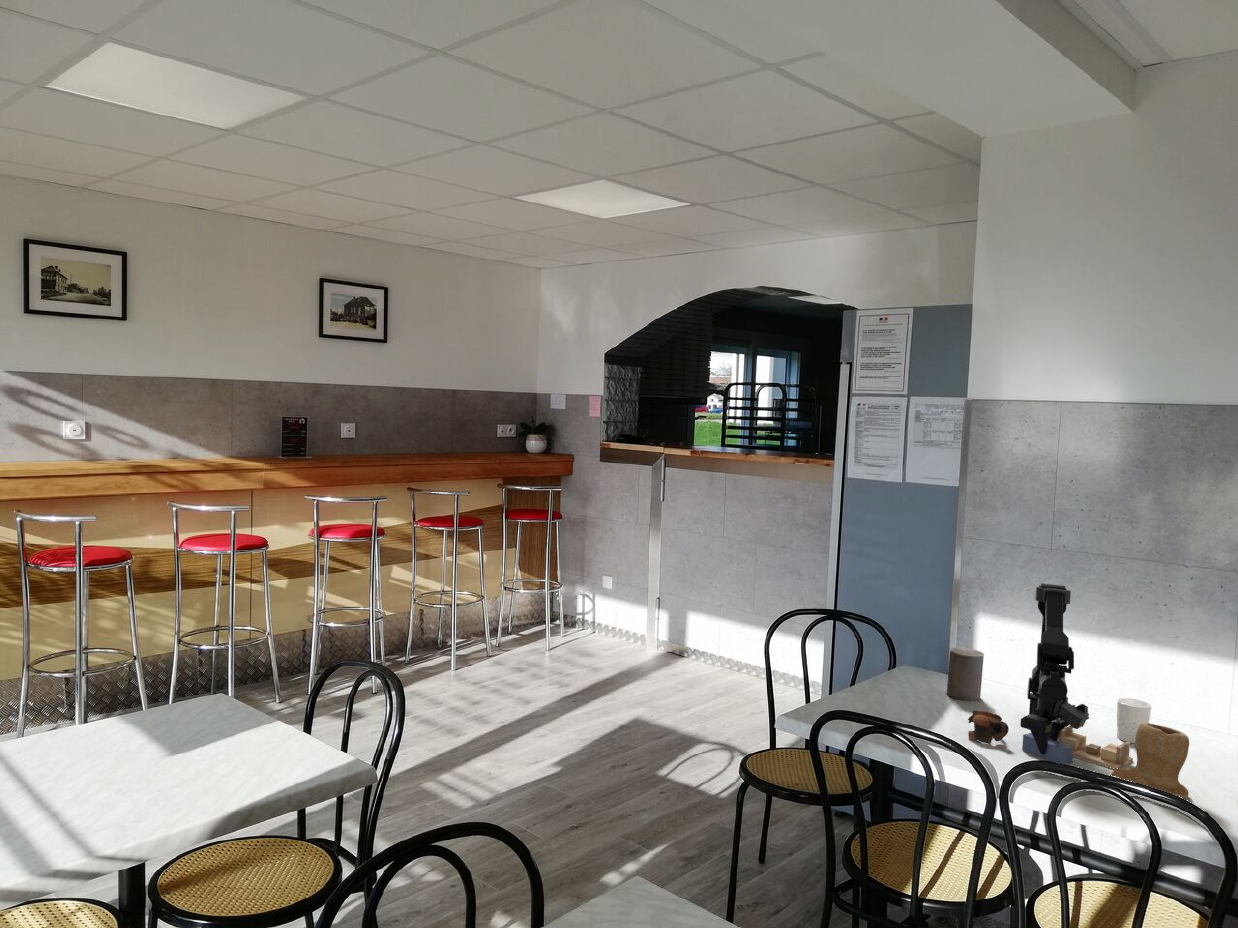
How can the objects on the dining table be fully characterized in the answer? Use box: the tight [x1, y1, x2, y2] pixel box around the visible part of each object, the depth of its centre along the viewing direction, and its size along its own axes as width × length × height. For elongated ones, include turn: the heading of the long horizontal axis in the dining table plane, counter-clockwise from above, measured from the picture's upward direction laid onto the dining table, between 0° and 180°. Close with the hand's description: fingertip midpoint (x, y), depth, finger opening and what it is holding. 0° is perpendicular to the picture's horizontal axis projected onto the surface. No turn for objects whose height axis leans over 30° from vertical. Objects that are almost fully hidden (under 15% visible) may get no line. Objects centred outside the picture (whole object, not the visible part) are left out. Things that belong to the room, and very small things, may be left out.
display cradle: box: [1058, 725, 1134, 770], centre depth 231 cm, size 10×15×5 cm, turn 41°
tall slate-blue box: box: [1021, 732, 1073, 766], centre depth 230 cm, size 11×4×4 cm, turn 30°
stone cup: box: [1110, 722, 1190, 799], centre depth 211 cm, size 15×12×15 cm
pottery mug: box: [967, 710, 1010, 745], centre depth 240 cm, size 12×10×8 cm
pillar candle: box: [945, 646, 985, 702], centre depth 277 cm, size 10×10×15 cm
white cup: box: [1116, 697, 1152, 745], centre depth 245 cm, size 8×8×10 cm
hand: (1047, 751), depth 230 cm, fingers closed on tall slate-blue box, 4 cm apart
